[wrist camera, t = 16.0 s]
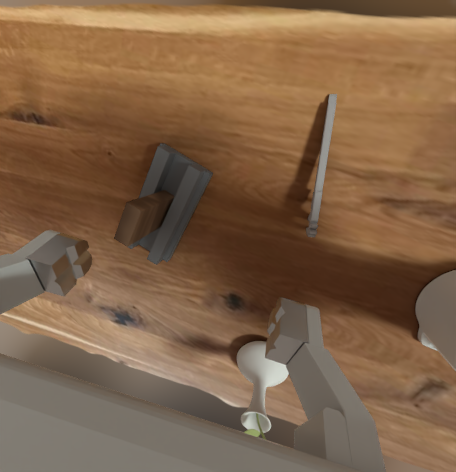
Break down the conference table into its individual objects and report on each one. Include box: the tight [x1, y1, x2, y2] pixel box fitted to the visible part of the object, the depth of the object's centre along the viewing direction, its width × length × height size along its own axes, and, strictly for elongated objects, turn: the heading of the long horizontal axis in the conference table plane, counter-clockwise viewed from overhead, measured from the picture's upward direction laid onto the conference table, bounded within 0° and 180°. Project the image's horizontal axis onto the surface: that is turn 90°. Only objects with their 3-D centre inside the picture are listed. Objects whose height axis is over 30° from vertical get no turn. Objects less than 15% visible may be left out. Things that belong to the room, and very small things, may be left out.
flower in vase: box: [237, 341, 289, 440], centre depth 41 cm, size 13×11×25 cm
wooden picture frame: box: [114, 190, 175, 247], centre depth 39 cm, size 3×6×11 cm, turn 151°
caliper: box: [306, 94, 337, 237], centre depth 35 cm, size 20×1×6 cm, turn 177°
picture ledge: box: [128, 143, 213, 265], centre depth 44 cm, size 10×20×4 cm, turn 151°
